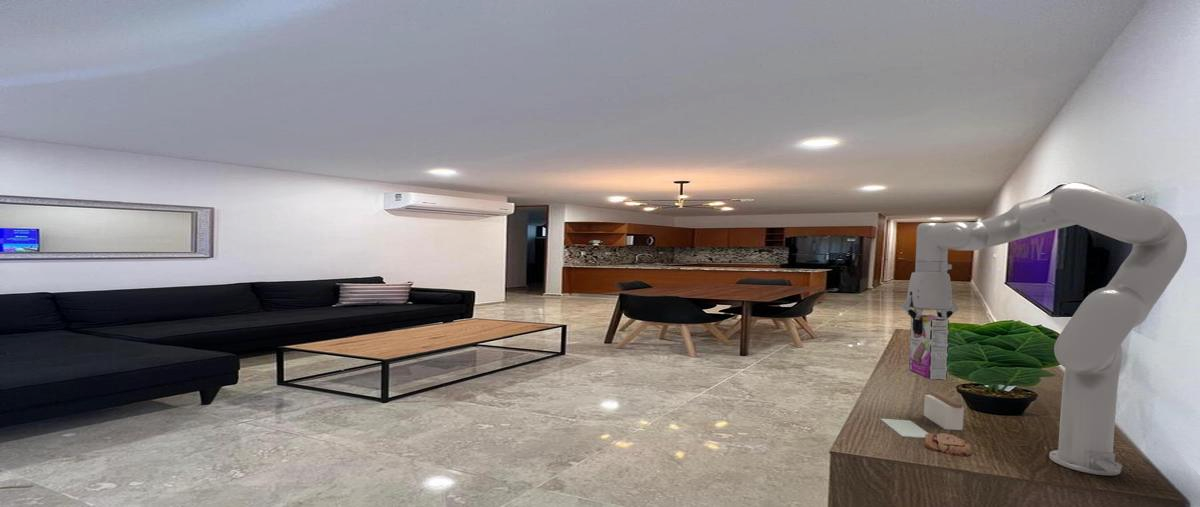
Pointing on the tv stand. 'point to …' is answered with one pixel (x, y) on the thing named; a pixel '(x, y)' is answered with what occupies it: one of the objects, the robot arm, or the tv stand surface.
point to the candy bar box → (930, 348)
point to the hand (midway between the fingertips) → (928, 333)
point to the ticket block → (943, 411)
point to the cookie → (947, 444)
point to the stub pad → (905, 428)
